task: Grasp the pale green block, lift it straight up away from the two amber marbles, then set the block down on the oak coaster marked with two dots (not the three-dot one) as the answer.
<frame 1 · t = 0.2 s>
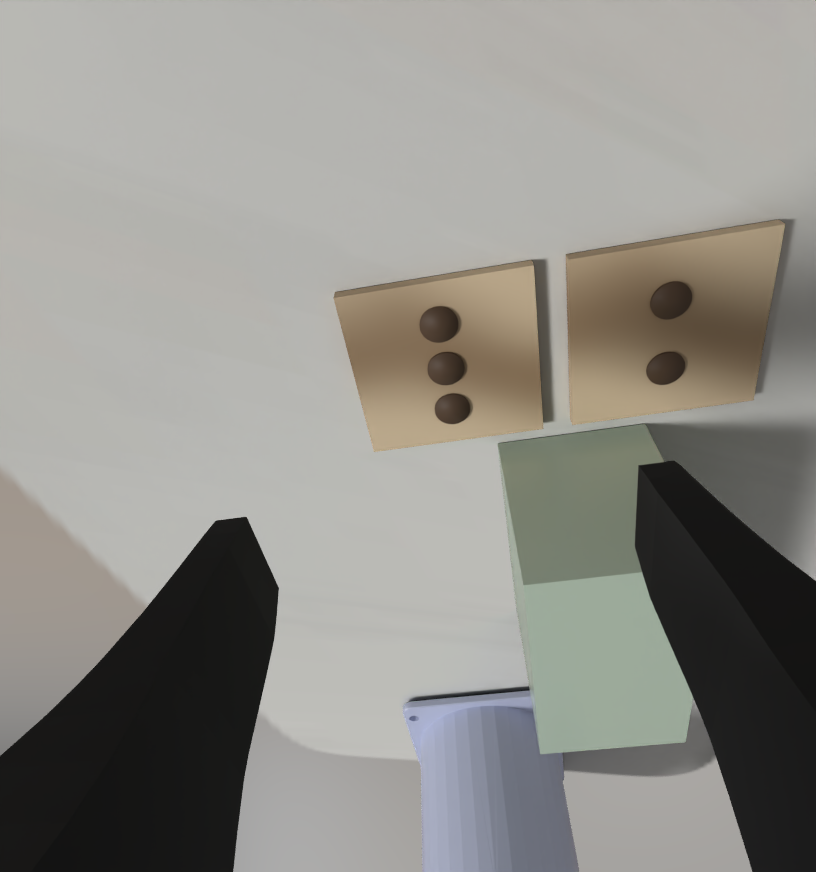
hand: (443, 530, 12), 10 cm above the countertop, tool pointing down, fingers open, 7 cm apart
pad three: (445, 361, 21), on the countertop
pale green block: (573, 528, 26), on the countertop
pad two: (663, 329, 20), on the countertop
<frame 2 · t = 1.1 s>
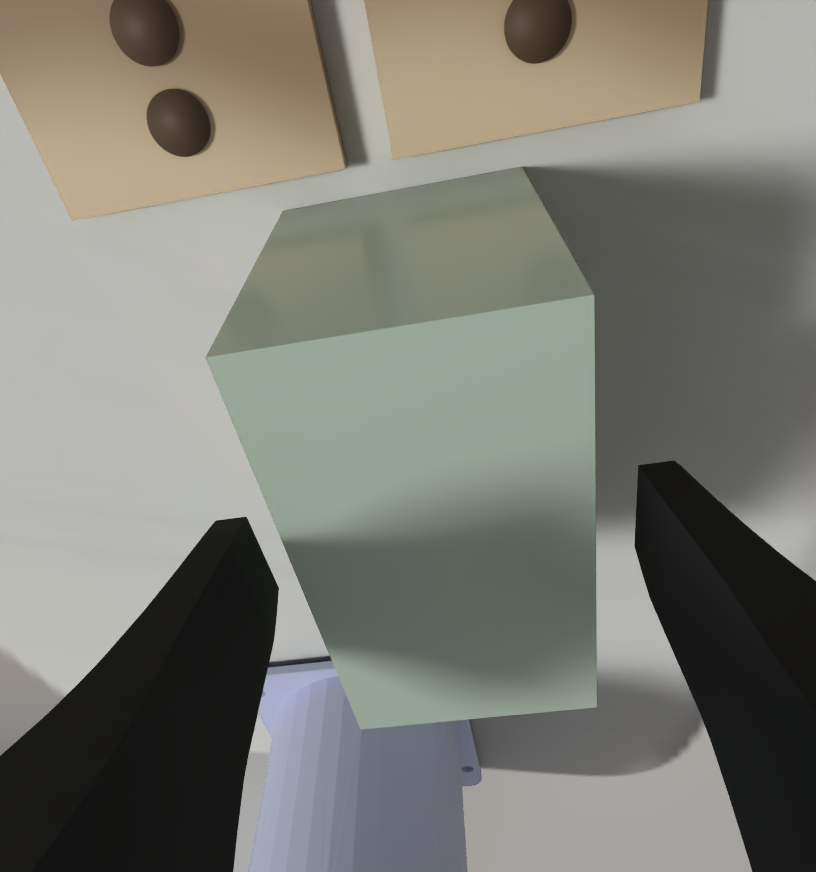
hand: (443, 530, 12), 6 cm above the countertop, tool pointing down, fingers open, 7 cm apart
pad three: (152, 26, 12), on the countertop
pale green block: (434, 379, 16), on the countertop
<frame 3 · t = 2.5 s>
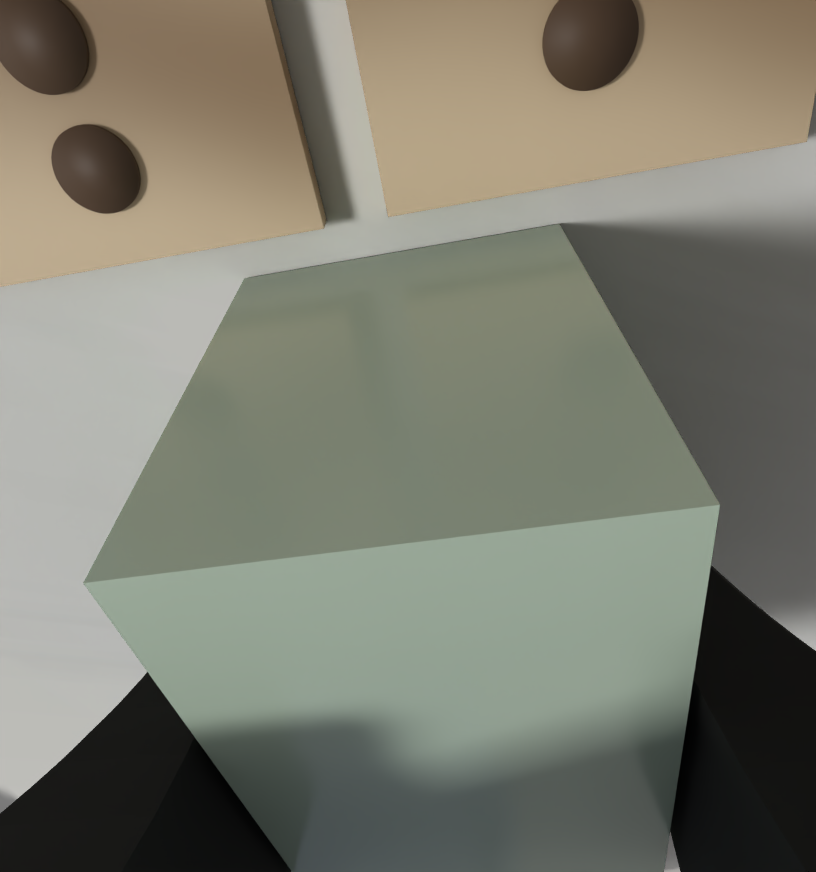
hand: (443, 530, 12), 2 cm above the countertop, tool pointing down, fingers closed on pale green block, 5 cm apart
pad three: (55, 39, 9), on the countertop
pale green block: (440, 475, 13), on the countertop, touching gripper
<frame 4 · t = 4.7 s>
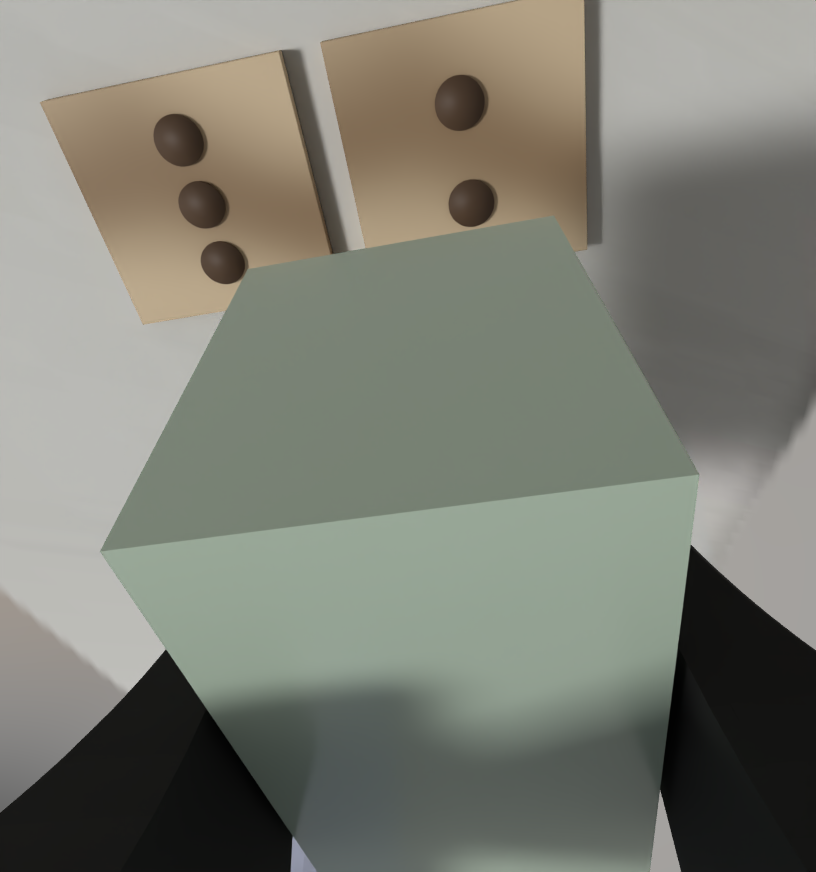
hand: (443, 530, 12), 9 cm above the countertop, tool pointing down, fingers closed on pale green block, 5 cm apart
pad three: (206, 200, 17), on the countertop
pale green block: (439, 462, 13), point 7 cm above the countertop, touching gripper
pad two: (464, 151, 16), on the countertop
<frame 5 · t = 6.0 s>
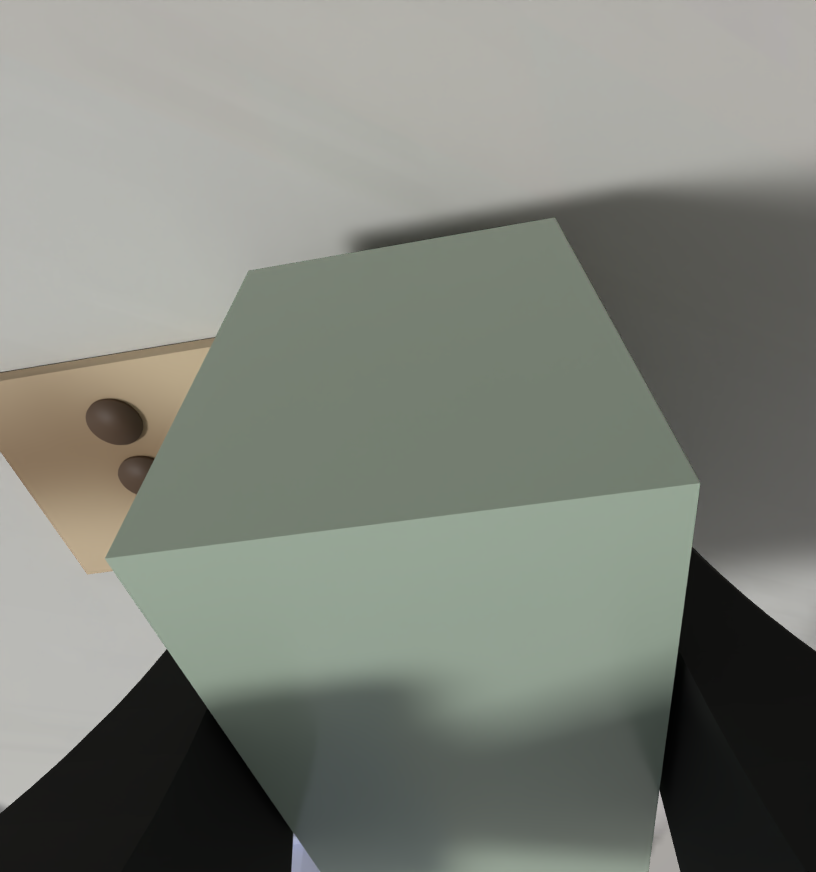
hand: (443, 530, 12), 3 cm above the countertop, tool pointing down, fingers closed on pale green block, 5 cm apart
pad three: (151, 464, 15), on the countertop
pale green block: (439, 462, 13), point 1 cm above the countertop, touching gripper
when the fingers open (3 cm above the countertop, at t = 7.0 s): pale green block stays where it is, resting on pad two.
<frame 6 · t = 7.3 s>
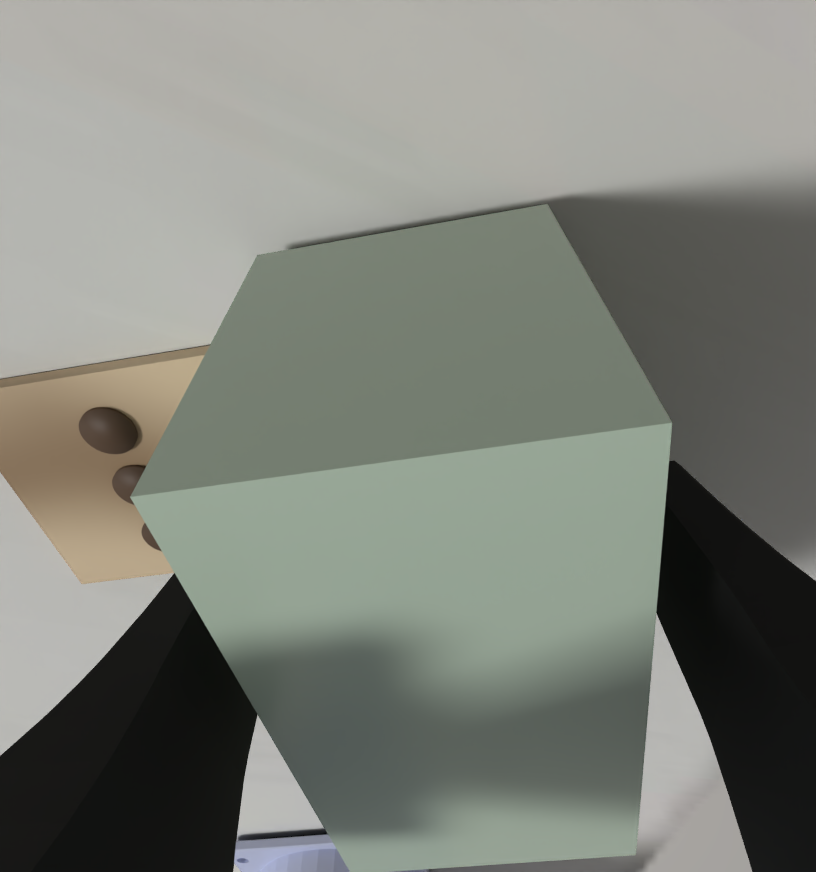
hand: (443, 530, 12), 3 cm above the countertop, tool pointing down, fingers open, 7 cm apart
pad three: (146, 473, 15), on the countertop
pale green block: (438, 443, 14), resting on pad two
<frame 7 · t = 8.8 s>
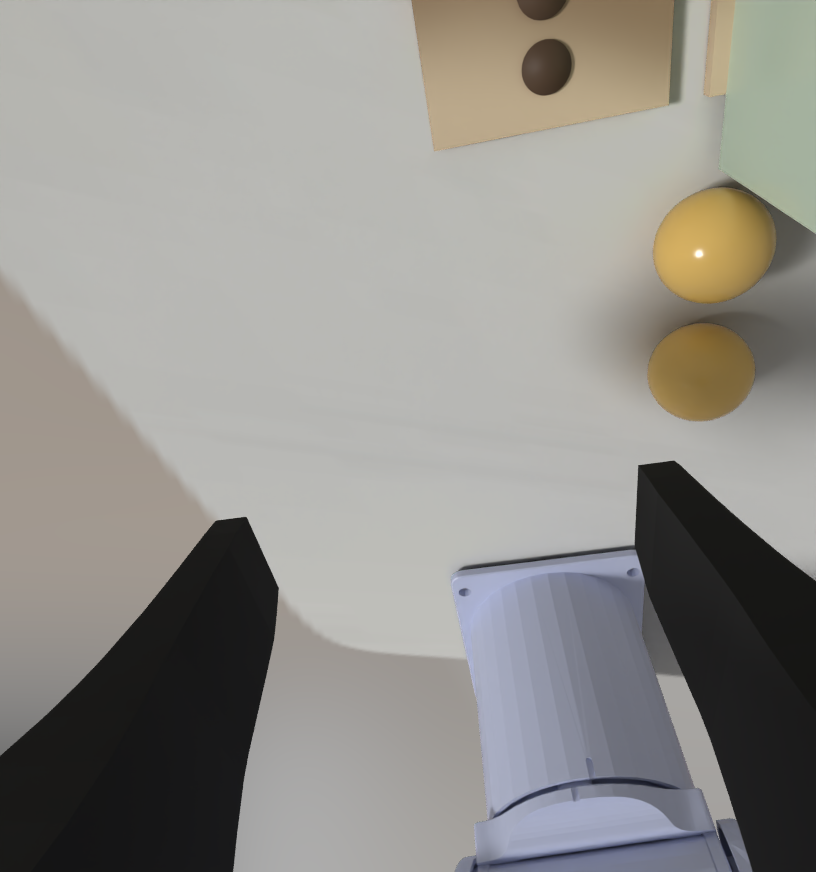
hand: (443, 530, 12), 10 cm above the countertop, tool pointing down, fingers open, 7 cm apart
marble b: (692, 228, 18), on the countertop
marble a: (682, 348, 21), on the countertop
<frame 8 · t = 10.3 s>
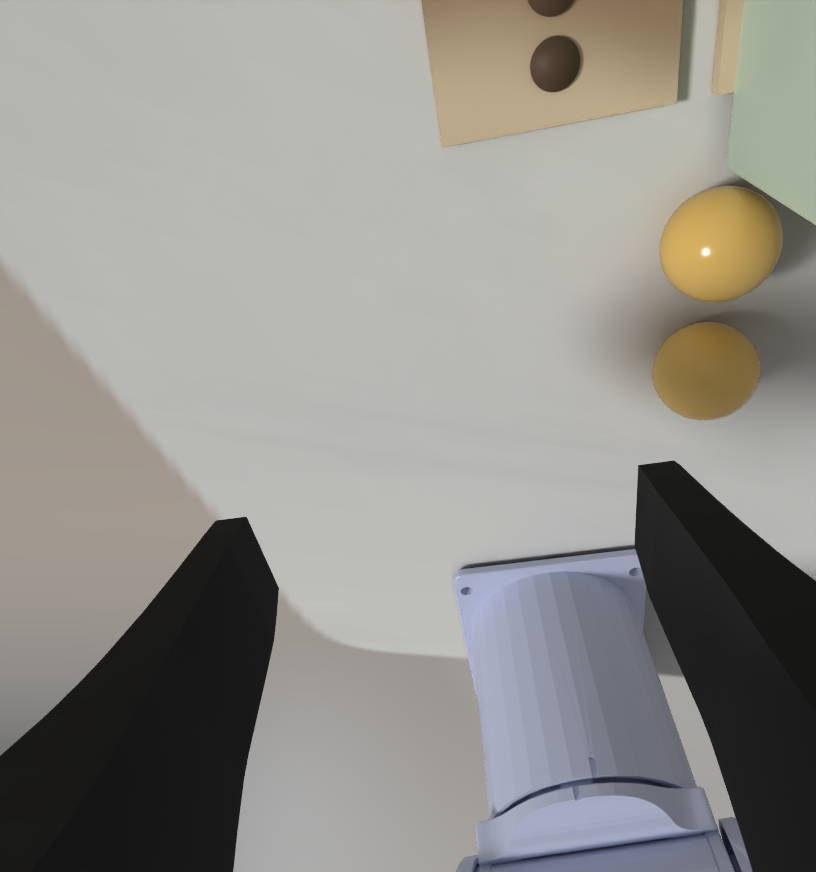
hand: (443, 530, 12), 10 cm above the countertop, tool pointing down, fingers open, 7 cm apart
marble b: (698, 226, 18), on the countertop
marble a: (687, 347, 21), on the countertop
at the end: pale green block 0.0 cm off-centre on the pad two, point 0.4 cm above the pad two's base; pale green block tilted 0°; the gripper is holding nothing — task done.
